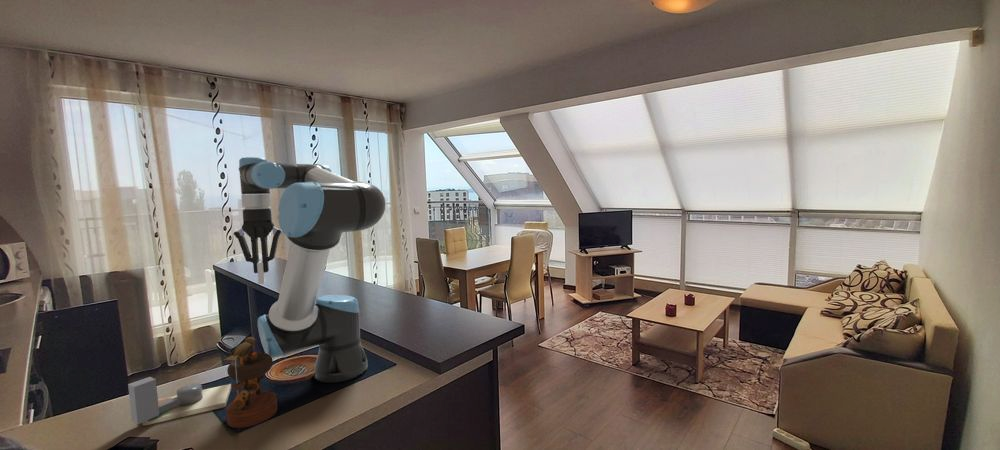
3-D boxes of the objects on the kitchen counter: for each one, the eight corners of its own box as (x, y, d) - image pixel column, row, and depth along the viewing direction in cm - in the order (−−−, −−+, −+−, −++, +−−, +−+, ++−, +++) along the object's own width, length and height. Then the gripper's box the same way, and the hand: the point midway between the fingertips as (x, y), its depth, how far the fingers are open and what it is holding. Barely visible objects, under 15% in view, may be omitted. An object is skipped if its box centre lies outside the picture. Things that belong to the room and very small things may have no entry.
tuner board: (231, 387, 107) (230, 383, 107) (224, 409, 97) (224, 404, 97) (153, 404, 99) (152, 399, 99) (136, 429, 89) (135, 424, 89)
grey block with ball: (196, 393, 102) (193, 360, 101) (206, 397, 100) (203, 363, 99) (130, 420, 90) (126, 383, 89) (139, 426, 88) (135, 388, 87)
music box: (270, 426, 89) (255, 345, 87) (216, 439, 86) (200, 355, 84) (288, 393, 104) (276, 322, 101) (242, 403, 101) (229, 330, 99)
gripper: (282, 207, 124) (287, 278, 126) (235, 208, 119) (241, 282, 121) (278, 207, 117) (283, 283, 119) (228, 209, 112) (234, 287, 114)
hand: (262, 282), depth 120 cm, fingers closed
